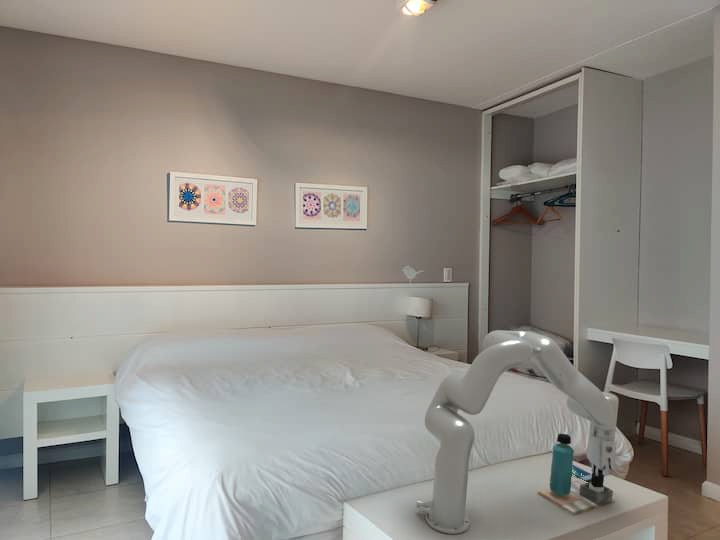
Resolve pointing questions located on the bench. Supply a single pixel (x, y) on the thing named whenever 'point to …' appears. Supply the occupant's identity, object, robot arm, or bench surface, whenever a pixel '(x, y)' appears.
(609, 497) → the wooden tray
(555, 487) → the beverage bottle
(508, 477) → the bench surface
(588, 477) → the smartphone
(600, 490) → the button
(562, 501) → the terracotta square
